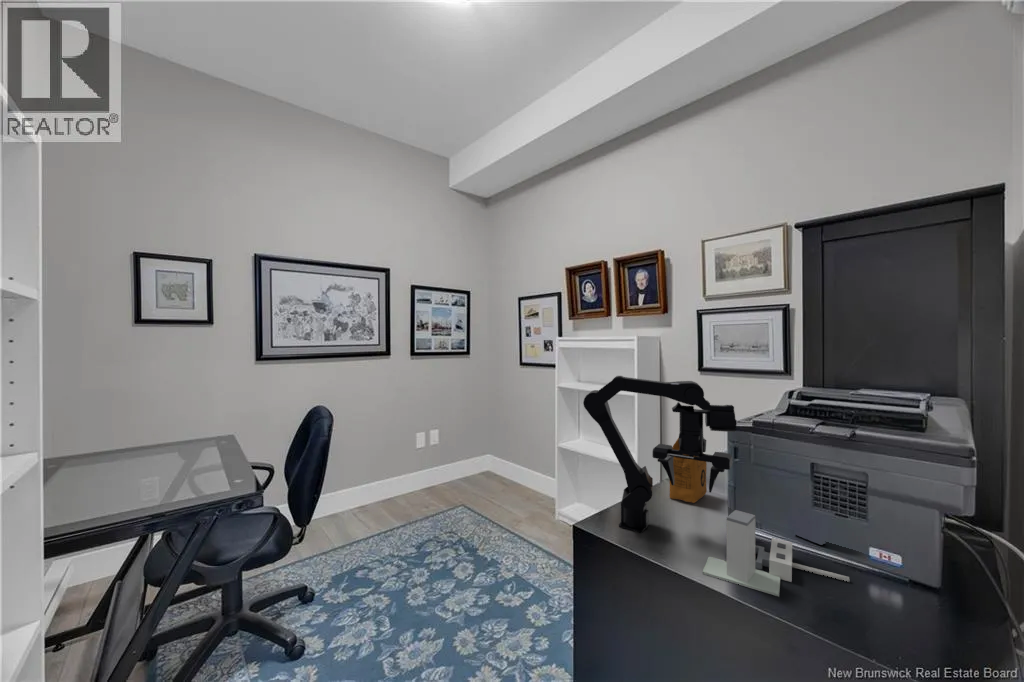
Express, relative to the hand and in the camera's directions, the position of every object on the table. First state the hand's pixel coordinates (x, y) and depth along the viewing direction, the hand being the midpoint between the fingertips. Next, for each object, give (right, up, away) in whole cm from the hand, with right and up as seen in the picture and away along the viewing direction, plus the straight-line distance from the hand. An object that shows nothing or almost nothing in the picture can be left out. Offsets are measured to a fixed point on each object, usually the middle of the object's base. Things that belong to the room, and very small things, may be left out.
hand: (691, 488), depth 108 cm
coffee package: (+10, -12, +25) cm, 29 cm away
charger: (+2, -12, -19) cm, 23 cm away
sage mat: (+2, -12, -19) cm, 23 cm away
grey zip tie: (+14, -12, -16) cm, 24 cm away
